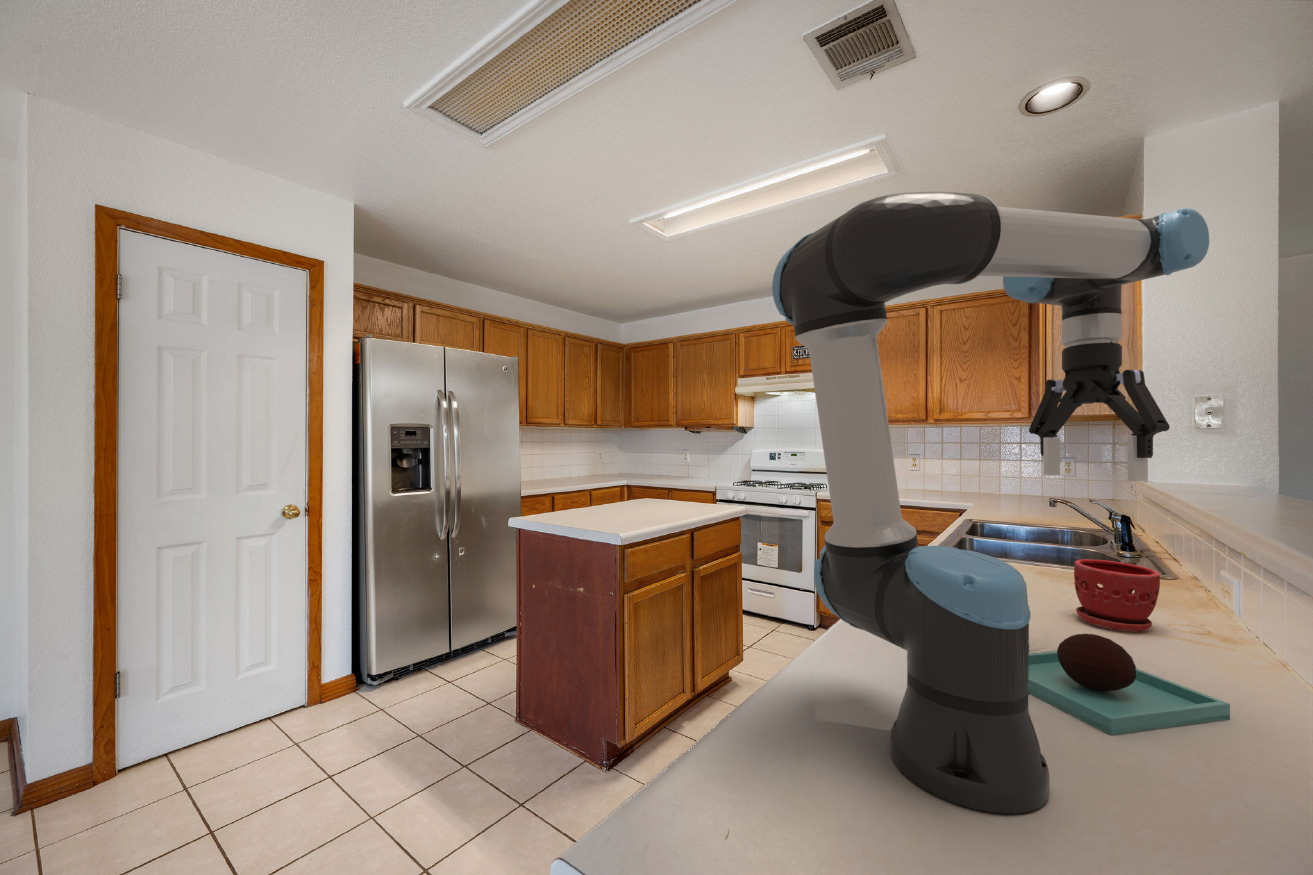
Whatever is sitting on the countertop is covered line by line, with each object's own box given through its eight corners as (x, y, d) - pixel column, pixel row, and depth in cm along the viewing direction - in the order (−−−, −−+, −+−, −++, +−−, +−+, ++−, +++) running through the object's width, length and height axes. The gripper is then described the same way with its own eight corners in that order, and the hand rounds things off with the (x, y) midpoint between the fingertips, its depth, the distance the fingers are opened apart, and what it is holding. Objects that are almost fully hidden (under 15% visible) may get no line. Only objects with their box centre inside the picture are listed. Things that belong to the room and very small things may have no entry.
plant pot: (1092, 632, 104) (1092, 570, 104) (1063, 612, 116) (1062, 556, 116) (1176, 640, 100) (1176, 575, 100) (1136, 618, 112) (1136, 560, 113)
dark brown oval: (1069, 670, 84) (1068, 621, 84) (1146, 694, 77) (1146, 639, 77) (1045, 682, 80) (1045, 630, 80) (1125, 708, 72) (1124, 650, 72)
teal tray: (1111, 735, 67) (1111, 718, 67) (983, 670, 86) (983, 657, 86) (1230, 718, 71) (1230, 703, 71) (1083, 660, 90) (1083, 648, 90)
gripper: (1202, 330, 75) (1203, 483, 75) (1039, 358, 99) (1040, 473, 99) (1160, 327, 73) (1161, 483, 73) (1005, 356, 98) (1005, 473, 97)
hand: (1091, 478), depth 86 cm, fingers open, 13 cm apart
